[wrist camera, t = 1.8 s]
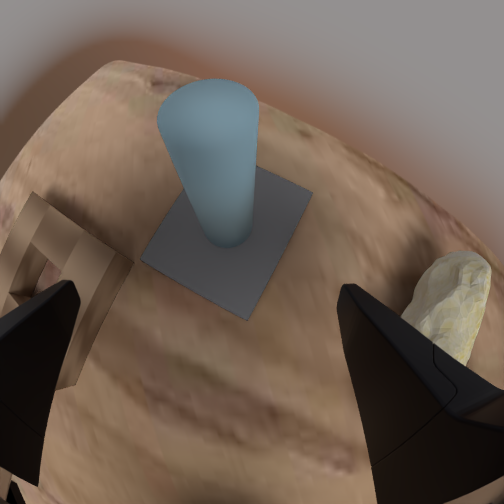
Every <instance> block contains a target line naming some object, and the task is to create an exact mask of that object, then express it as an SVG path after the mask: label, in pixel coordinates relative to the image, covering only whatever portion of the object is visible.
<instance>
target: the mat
mask: <svg viewBox="0 0 504 504" xmlns="http://www.w3.org/2000/svg"><path fill="white" fill-rule="evenodd" d="M312 194H313V192H311V191H309V190H307V189H305V188H303V187H301V186H298V185H296V184H294V183H292V182H290V181H288V180H286V179H284V178H282V177H280V176H278V175H275V174H273V173H271V172H269V171H267V170H265V169H262V168H260V167H258V166H256V170H255V187H254V205H253V222H252V230H251V233H250V235H249V237H248V238H247V239H246V240H245V241H244V242H243V243H241V244H240V245H238V246H235V247H232V248H223V247H219V246H216V245H214V244H213V243H211V242H210V241H209V240H208V239H207V237H206V236H205V234H204V231H203V229H202V227H201V225H200V223H199V220H198V218H197V216H196V214H195V212H194V209H193V207H192V205H191V203H190V201H189V198H188V196H187V194H186V192H185V189H183V191H182V192H181V194H180V195H179V197H178V198H177V200H176V201H175V203H174V204H173V206H172V207H171V209H170V210H169V212H168V213H167V215H166V217H165V218H164V220H163V221H162V223H161V224H160V226H159V228H158V229H157V231H156V233H155V234H154V236H153V237H152V239H151V241H150V242H149V244H148V246H147V248H146V249H145V251H144V253H143V254H142V256H141V258H140V260H142V261H143V262H145V263H146V264H148V265H150V266H151V267H153V268H155V269H156V270H158V271H159V272H161V273H163V274H164V275H166V276H168V277H169V278H171V279H173V280H175V281H176V282H178V283H180V284H181V285H183V286H185V287H187V288H188V289H190V290H192V291H194V292H195V293H197V294H199V295H201V296H202V297H204V298H206V299H208V300H209V301H211V302H213V303H215V304H217V305H219V306H220V307H222V308H224V309H226V310H228V311H230V312H231V313H233V314H235V315H237V316H239V317H241V318H243V319H245V320H247V321H248V319H249V317H250V315H251V313H252V311H253V310H254V308H255V306H256V304H257V302H258V300H259V298H260V296H261V294H262V293H263V291H264V289H265V287H266V285H267V283H268V281H269V279H270V277H271V275H272V273H273V271H274V270H275V268H276V266H277V264H278V262H279V260H280V258H281V256H282V254H283V252H284V250H285V248H286V246H287V244H288V242H289V240H290V238H291V236H292V234H293V232H294V230H295V228H296V226H297V224H298V222H299V220H300V218H301V216H302V214H303V212H304V210H305V208H306V206H307V204H308V202H309V200H310V198H311V196H312Z"/></svg>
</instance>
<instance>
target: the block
mask: <svg viewBox="0 0 504 504" xmlns="http://www.w3.org/2000/svg"><path fill="white" fill-rule="evenodd" d="M48 259H49V260H50V261H51V262H52V263H53V264H54V265H55V266H56V267H58V268H59V269H60V270H61V271H62V272H61V274H60V276H59V278H58V281H57V283H58V282H59V281H61V280H72V281H73V282H74V284H75V286H76V289H77V291H78V294H79V296H80V299H81V305H80V309H79V312H78V316H77V319H76V323H75V326H74V330H73V334H72V337H71V341H70V344H69V347H68V350H67V353H66V356H65V359H64V362H63V365H62V368H61V372H60V375H59V378H58V382H57V385H56V389H55V391H56V390H59V389H63V388H67V387H70V386H74V385H76V382H77V380H78V377H79V375H80V372H81V370H82V367H83V365H84V362H85V360H86V358H87V355H88V353H89V351H90V349H91V346H92V344H93V342H94V340H95V338H96V335H97V333H98V331H99V329H100V327H101V325H102V323H103V321H104V319H105V317H106V314H107V312H108V310H109V308H110V306H111V305H112V303H113V301H114V299H115V297H116V295H117V293H118V291H119V289H120V287H121V285H122V283H123V282H124V280H125V278H126V276H127V274H128V272H129V271H130V269H131V267H132V265H133V264H134V262H132V261H131V260H129V259H128V258H126V257H124V256H123V255H121V254H120V253H118V252H117V251H115V250H114V249H112V248H111V247H109V246H108V245H106V244H105V243H103V242H102V241H100V240H99V239H98V238H96V237H95V236H93V235H92V234H90V233H89V232H88V231H86V230H85V229H83V228H82V227H80V226H79V225H78V224H76V223H75V222H74V221H72V220H71V219H69V218H68V217H67V216H65V215H64V214H63V213H61V212H60V211H59V210H57V209H56V208H55V207H53V206H52V205H51V204H49V203H48V202H47V201H45V200H44V199H42V198H41V197H40V196H38V195H37V194H36V193H34V192H33V191H32V193H31V195H30V196H29V198H28V200H27V202H26V203H25V205H24V207H23V209H22V210H21V212H20V214H19V216H18V218H17V220H16V222H15V224H14V226H13V228H12V230H11V232H10V234H9V236H8V238H7V240H6V243H5V245H4V247H3V249H2V252H1V254H0V318H1V317H3V316H4V315H6V314H7V313H9V312H10V311H12V310H13V309H15V308H16V307H18V306H20V305H21V304H23V303H24V302H26V301H28V300H29V299H31V295H32V293H33V291H34V288H35V286H36V284H37V281H38V279H39V277H40V275H41V272H42V270H43V268H44V266H45V264H46V262H47V260H48Z"/></svg>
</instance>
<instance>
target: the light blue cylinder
mask: <svg viewBox="0 0 504 504" xmlns="http://www.w3.org/2000/svg"><path fill="white" fill-rule="evenodd" d="M258 118H259V105H258V101H257V99H256V97H255V95H254V94H253V93H252V92H251V91H250V90H249V89H248V88H247V87H245V86H243V85H241V84H239V83H237V82H234V81H230V80H225V79H205V80H200V81H196V82H192V83H190V84H187V85H185V86H183V87H181V88H179V89H178V90H176V91H175V92H173V93H172V94H171V95H170V96H169V97H168V98H167V99H166V100H165V101H164V102H163V104H162V105H161V107H160V109H159V112H158V116H157V124H158V128H159V131H160V133H161V136H162V138H163V140H164V143H165V145H166V148H167V150H168V152H169V155H170V157H171V159H172V162H173V164H174V166H175V169H176V171H177V173H178V176H179V178H180V180H181V182H182V185H183V187H184V189H185V192H186V194H187V196H188V198H189V201H190V203H191V205H192V207H193V209H194V212H195V214H196V216H197V218H198V220H199V223H200V225H201V227H202V229H203V231H204V234H205V236H206V237H207V239H208V240H209V241H210V242H211V243H213V244H214V245H216V246H219V247H223V248H232V247H235V246H238V245H240V244H241V243H243V242H244V241H245V240H246V239H247V238H248V237H249V235H250V233H251V230H252V222H253V205H254V187H255V170H256V152H257V135H258Z"/></svg>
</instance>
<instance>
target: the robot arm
mask: <svg viewBox="0 0 504 504" xmlns="http://www.w3.org/2000/svg"><path fill="white" fill-rule="evenodd" d="M80 305H81V299H80V296H79V294H78V291H77V289H76V286H75V284H74V282H73V281H72V280H61V281H59V282H58V283H56V284H54V285H52V286H51V287H49V288H47V289H46V290H44V291H42V292H41V293H39V294H37V295H36V296H34V297H32V298H31V299H29V300H28V301H26V302H24V303H23V304H21V305H20V306H18V307H16V308H15V309H13V310H12V311H10V312H9V313H7V314H6V315H4V316H3V317H1V318H0V504H26V503H25V501H24V499H23V497H22V494H21V492H20V490H19V487H18V485H17V483H15V482H14V481H13V480H11V478H12V474H13V475H15V476H17V477H19V478H21V479H23V480H25V481H27V482H29V483H31V484H33V485H35V486H37V487H38V484H39V474H40V465H41V457H42V450H43V444H44V437H45V432H46V427H47V422H48V417H49V413H50V409H51V404H52V400H53V396H54V393H55V389H56V385H57V382H58V378H59V375H60V372H61V368H62V365H63V362H64V359H65V356H66V353H67V350H68V347H69V344H70V341H71V337H72V334H73V330H74V326H75V323H76V319H77V316H78V312H79V309H80ZM337 314H338V320H339V326H340V332H341V338H342V344H343V350H344V354H345V358H346V362H347V366H348V369H349V373H350V377H351V380H352V384H353V388H354V392H355V396H356V400H357V404H358V408H359V412H360V417H361V421H362V425H363V430H364V434H365V439H366V444H367V448H368V453H369V458H370V463H371V469H372V475H373V480H374V486H375V492H376V498H377V504H504V390H502V389H499V388H497V387H495V386H494V385H492V384H491V383H489V382H488V381H486V380H485V379H483V378H482V377H480V376H479V375H477V374H476V373H475V372H473V371H472V370H470V369H469V368H467V367H466V366H464V365H463V364H461V363H460V362H459V361H457V360H456V359H454V358H453V357H452V356H450V355H449V354H448V353H446V352H445V351H444V350H443V349H441V348H440V347H439V346H437V345H436V344H435V343H434V344H433V342H432V341H431V340H430V339H428V338H427V337H426V336H425V335H423V334H422V333H421V332H419V331H418V330H417V329H416V328H414V327H413V326H412V325H410V324H409V323H408V322H406V321H405V320H404V319H402V318H401V317H400V316H399V315H397V314H396V313H395V312H393V311H392V310H391V309H389V308H388V307H387V306H385V305H384V304H382V303H381V302H380V301H378V300H377V299H376V298H374V297H373V296H372V295H370V294H369V293H368V292H366V291H365V290H363V289H362V288H361V287H359V286H358V285H357V284H343V285H342V287H341V290H340V295H339V298H338V302H337Z"/></svg>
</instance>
